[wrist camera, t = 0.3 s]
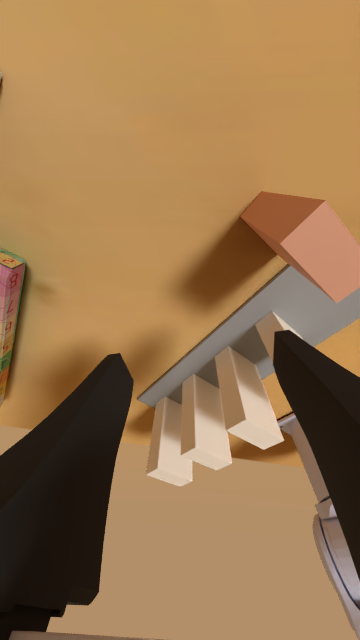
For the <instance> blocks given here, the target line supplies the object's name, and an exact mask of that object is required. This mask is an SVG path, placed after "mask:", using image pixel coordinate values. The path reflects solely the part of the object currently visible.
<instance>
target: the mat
mask: <svg viewBox="0 0 360 640" xmlns="http://www.w3.org/2000/svg"><path fill="white" fill-rule="evenodd" d="M271 311H273V312H274V313H275V314H276V315H277V316H279V317H280V318H281V319H282V320H283V321H284V322H285V323H287V324H288V325H289V326H290V327H291V328H292V329H294V330H295V331H296V332H297V333H298V334H299V335H300V336H301V337H302V338H303V340H304V341H306V342H307V343H308V344H310V345H311V346H313V347H314V346H316V345H318V344H319V343H321V342H322V341H324V340H325V339H327V338H329V337H330V336H332V335H333V334H335V333H336V332H338V331H340V330H341V329H343V328H344V327H346V326H347V325H349V324H351V323H352V322H354V321H355V320H357V319H359V318H360V288H358V289H357V290H355V291H354V292H352V293H351V294H350V295H348V296H347V297H345V298H344V299H342V300H341V301H339V302H338V303H336V302H335V301H333V300H332V299H331V298H330V297H328V296H327V295H326V294H325V293H324V292H322V291H321V290H320V289H319V288H317V287H316V286H315V285H314V284H313V283H311V282H310V281H309V280H308V279H307V278H305V277H304V276H303V275H302V274H300V273H299V272H298V271H297V270H296V269H294V268H293V267H292V266H291V265H289V264H288V265H287V266H286V267H285V268H284V269H282V270H281V271H280V272H279V273H278V274H277V275H276V276H275V277H273V278H272V279H271V280H270V281H269V282H268V283H267V284H265V285H264V286H263V287H262V288H261V289H260V290H259V291H258V292H256V293H255V294H254V295H253V296H252V297H251V298H250V299H249V300H247V301H246V302H245V303H244V304H243V305H242V306H241V307H239V308H238V309H237V310H236V311H235V312H234V313H233V314H232V315H230V316H229V317H228V318H227V319H226V320H225V321H224V322H222V323H221V324H220V325H219V326H218V327H217V328H216V329H215V330H213V331H212V332H211V333H210V334H209V335H208V336H207V337H205V338H204V339H203V340H202V341H201V342H200V343H199V344H198V345H196V346H195V347H194V348H193V349H192V350H191V351H190V352H189V353H187V354H186V355H185V356H184V357H183V358H182V359H181V360H179V361H178V362H177V363H176V364H175V365H174V366H173V367H172V368H170V369H169V370H168V371H167V372H166V373H165V374H164V375H162V376H161V377H160V378H159V379H158V380H157V381H156V382H155V383H153V384H152V385H151V386H150V387H149V388H148V389H147V390H145V391H144V392H143V393H142V394H141V395H140V396H139V397H138V399H137V400H139V401H141V402H143V403H145V404H147V405H149V406H151V407H153V408H156V403H157V402H159V401H160V400H161V399H162V398H164V397H165V396H166V397H168V398H169V399H171V400H173V401H175V402H177V403H179V404H181V405H182V383H183V382H184V381H185V380H186V379H187V378H189V377H190V376H191V375H192V374H195V375H197V376H198V377H200V378H202V379H203V380H205V381H207V382H208V383H210V384H212V385H213V386H215V387H217V388H218V389H220V388H219V382H218V375H217V369H216V362H215V356H216V355H217V354H219V353H220V352H221V351H222V350H224V349H225V348H226V347H227V346H229V347H231V348H232V349H233V350H235V351H236V352H238V353H239V354H241V355H242V356H243V357H245V358H246V359H248V360H249V361H250V362H252V363H253V364H255V365H256V366H257V369H258V371H259V374H260V377H261V380H262V379H264V378H266V377H267V376H269V375H270V374H272V373H274V372H275V370H274V367H273V362H272V360H271V358H270V356H269V354H268V352H267V350H266V347H265V345H264V343H263V341H262V339H261V337H260V335H259V332H258V330H257V328H256V326H255V324H256V323H257V322H259V321H260V320H261V319H262V318H264V317H265V316H266V315H267V314H269V313H270V312H271Z"/></svg>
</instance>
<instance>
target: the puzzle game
mask: <svg viewBox="0 0 360 640" xmlns="http://www.w3.org/2000/svg"><path fill="white" fill-rule="evenodd" d="M25 265H26V262H25V260H24V258H22V257H20V256H18V255H16V254H14V253H11V252H9V251H7V250H5V249H3V248H1V247H0V406H1V405H2V403H3V401H4V395H5V388H6V382H7V379H8V376H9V370H10V363H11V357H12V350H13V343H14V337H15V330H16V324H17V317H18V311H19V304H20V298H21V291H22V285H23V278H24V272H25Z"/></svg>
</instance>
